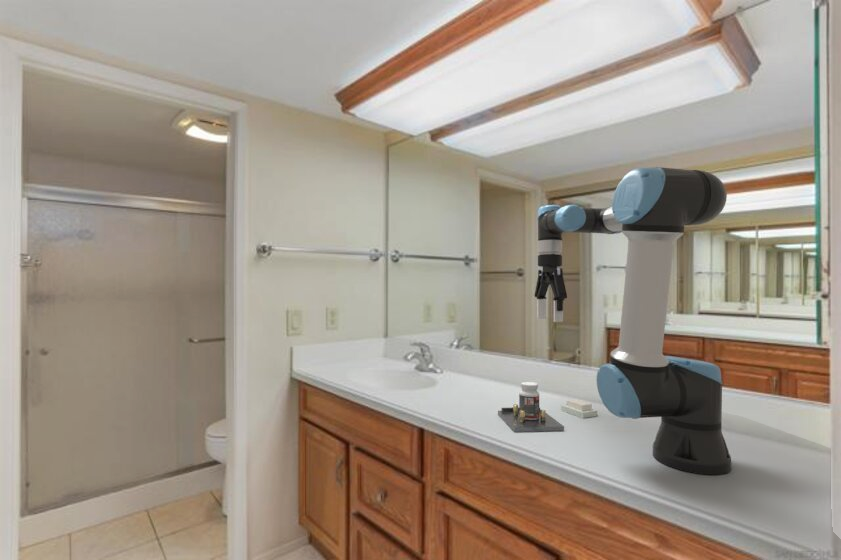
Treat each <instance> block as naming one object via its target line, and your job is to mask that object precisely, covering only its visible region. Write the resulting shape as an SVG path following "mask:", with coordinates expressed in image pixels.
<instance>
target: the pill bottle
mask: <svg viewBox="0 0 841 560" xmlns="http://www.w3.org/2000/svg"><path fill="white" fill-rule="evenodd" d="M538 385H539V384H538V383H537V382H534V381H525V382H524V381H523V382H521V383H520V387H521V390H519V395H518V397H519V398H518V399H519V402H518V403H519V404H518V407H519V416H520V410H524V411H525V420H537V419H539V407H540V393H539V391H538V388H539V386H538Z"/></svg>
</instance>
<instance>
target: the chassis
mask: <svg viewBox="0 0 841 560" xmlns="http://www.w3.org/2000/svg"><path fill="white" fill-rule="evenodd" d="M497 416H499V417H500V419H502V420H503V422H504V423H505V424H506V425H507V426H508V427H509V428H510V429H511V430H512V431H513V432H514V433H524V432H525V433H526V432H528V433H529V432H531V433H533V432H534V433H535V432H564V431H565V425H563V424H562V423H561V422H559V421H557V420H556V419H555V418H554V417H553V416H552V415H550V414H548V413H547V412H546V409H541V407H540V406H539V419H537V420H525V411H524V410H520V416H519V404H513V407H501V410H497Z"/></svg>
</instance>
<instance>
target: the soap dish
mask: <svg viewBox="0 0 841 560" xmlns="http://www.w3.org/2000/svg"><path fill="white" fill-rule="evenodd" d="M560 411H561V412H564V413H565V412H566V413H568V414H571V415H573V416H576V417H578V418H581V419H586V418H587V419H588V418H592V417H598V410H597V409H594V408H592V403H590V402H587V401H584V400H582V399H581V400H580V399H577V398H574V399H567V400H566V404H562V405H560Z"/></svg>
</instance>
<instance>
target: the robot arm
mask: <svg viewBox="0 0 841 560" xmlns="http://www.w3.org/2000/svg"><path fill="white" fill-rule="evenodd" d="M727 195H728V194H727V189H726V187H725V184H724V183H723V181H722V180H721V178H719V177H718V176H716V175H715V174H712V173H711V172H708V171H704V170H699V169H683V168H671V167H661V166H660V167H659V166H655V167H654V166H653V167H652V166H649V167H639V168H638V167H637V168H634V169H632V170H631V171H629V172H628V173H626V174H625V175H624V176H623V178H622V179H621V180H620V182H618V185H617V186H616V189H615V191H614V193H613V197H612V202H611V206H609V207H604V208H601V207H600V208H597V207H595V208H592V207H581V206H580V205H577V204H568V205H564V206H560V205H557V204H549V205H548V204H547V205H542V206H540V207H539V209H538V212H537V254H539V255H537V266H538V267H542V269H538V273H537V281H536V286H535V292H534V298H536V299H537V302H536V305H537V307H536V310H537V312H536V314H537V315H536V317H537V318H536V319H538V320H540V319H547V316H546V315H547V297H546V296H547V292H548V289H549V287H551V291H552V294H553V296H554V297H553V299H552V300H553V323H563V322H564V301H565V299H567V298H568V294H567V290H566V285H565V280H564V275H563V272H564V271H563V268H558V267H562V265H563V255H562V252H563V248H564V244H563V234H565V233H575V234H576V233H577V234H584V233H585V234H606V235H614V234H615V235H617V234H621V233H622V234H623V235H624V236H625V237H626V238H627V240H628V245H627V254H626V255H627V256H626V264H625V276H624V277H625V278H624V285H623V286H624V287H623V295H622V296H623V297H622V306H621V318H620V328H619V339H618V346H617V347H616V348H614V349H613V350H611V351H610V355H609V363H604V364H602V365H601V366H600V367H599V368H598V370H597V373H596V386H597V392H598V395H599V397H600V399H601V402H602V403H603V406H605V408H606V409H607V411H608V412H609V413H611V414H612V415H613V416H615V417H617V418H623V419H633V420H635V419H636V420H637V419H640V418H641V419H644V418H645V419H646V418H661V419H660V425H659V427H658V430H657V432H656V433H657V434H656V435H655V436H656V437H655V439H654V441H653V444H652V456H653V457H654V458H655V459H656V460H657V461H658V462H660V463H662V464H664V465H666V466H668V467H671V468H674V469H678V470H681V471H684V472H689V473H694V474H699V475H711V476H712V475H714V476H715V475H724V474H728V473H730V472H731V471H732V456H731V455H730V453H729V449H728V446H727V443H726V440H725V438H724V434H723V432H722V431H723V430H722V414H723V413H722V412H723V411H722V410H723V409H722V406H723V405H722V404H723V400H722V399H723V381H722V371H721V368H720V367H719V366H718V365H717V364H715V363H711V362H708V361H703V360H697V359H693V358H688V357H687V358H686V357H681V356H680V357H679V356H671V355H664V354H663V350H664V349H663V347H664V338H665V329H666V328H665V327H666V320H667V309H668V301H669V293H670V292H669V291H670V284H671V282H670V281H671V275H672V265H673V255H674V246H675V245H674V244H675V242H676V241H677V240H678V239H680V238H681V237H682V236H683V235H684V232H685V227H686V226H698V225H699V226H700V225H704V224H707V223H708V222H711V221H713V220H714V219H716V217H718V216H719V215H720V214H721V213H722V212H723V210H724V208H725V206H726V203H727V197H728V196H727Z"/></svg>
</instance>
